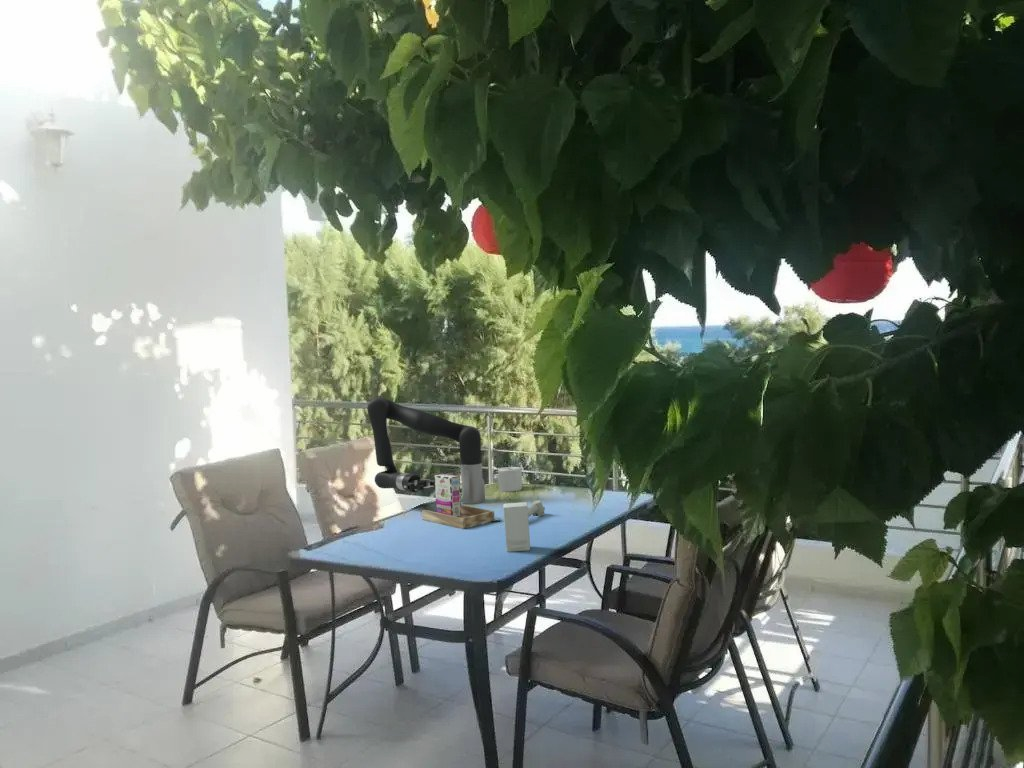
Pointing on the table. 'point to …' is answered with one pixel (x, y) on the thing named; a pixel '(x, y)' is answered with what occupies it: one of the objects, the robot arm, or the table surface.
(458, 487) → the candy bar box
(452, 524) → the tray
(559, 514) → the table surface
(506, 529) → the skincare box
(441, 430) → the robot arm
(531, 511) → the grey long piece
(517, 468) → the toilet tissue
